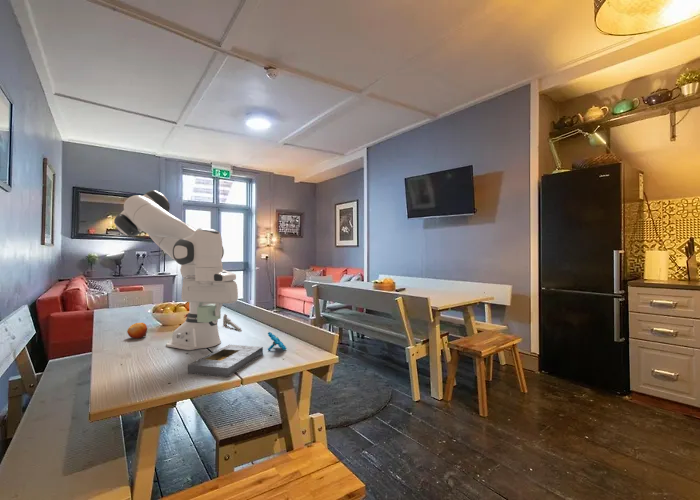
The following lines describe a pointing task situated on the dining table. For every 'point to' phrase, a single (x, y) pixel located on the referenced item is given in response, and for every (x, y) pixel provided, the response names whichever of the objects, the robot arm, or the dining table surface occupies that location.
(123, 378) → the dining table surface
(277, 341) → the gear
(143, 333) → the fruit
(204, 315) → the block
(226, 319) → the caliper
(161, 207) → the robot arm
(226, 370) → the pocket plate
